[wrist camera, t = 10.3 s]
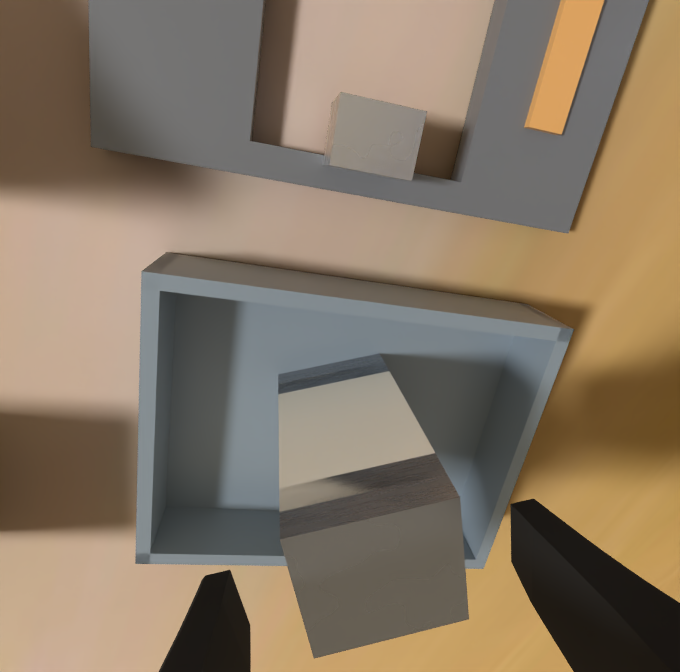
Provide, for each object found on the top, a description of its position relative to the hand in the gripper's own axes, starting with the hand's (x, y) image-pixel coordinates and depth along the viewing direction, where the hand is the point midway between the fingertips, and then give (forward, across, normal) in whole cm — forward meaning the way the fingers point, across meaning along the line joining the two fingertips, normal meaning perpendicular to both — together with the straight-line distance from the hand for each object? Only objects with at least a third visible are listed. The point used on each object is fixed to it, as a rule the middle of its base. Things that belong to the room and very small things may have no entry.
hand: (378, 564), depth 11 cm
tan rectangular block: (+7, 0, 0) cm, 7 cm away
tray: (+8, 0, 0) cm, 8 cm away
